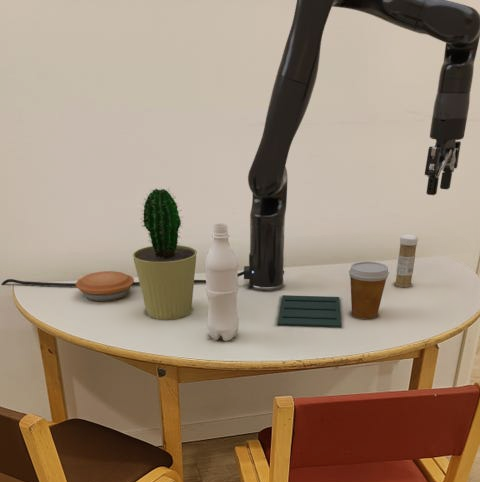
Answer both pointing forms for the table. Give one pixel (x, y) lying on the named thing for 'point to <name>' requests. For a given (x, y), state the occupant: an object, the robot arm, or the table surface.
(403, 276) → the sprinkles bottle
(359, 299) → the disposable coffee cup
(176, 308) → the potted cactus
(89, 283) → the pie
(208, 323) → the water bottle
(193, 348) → the table surface
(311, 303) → the mat
